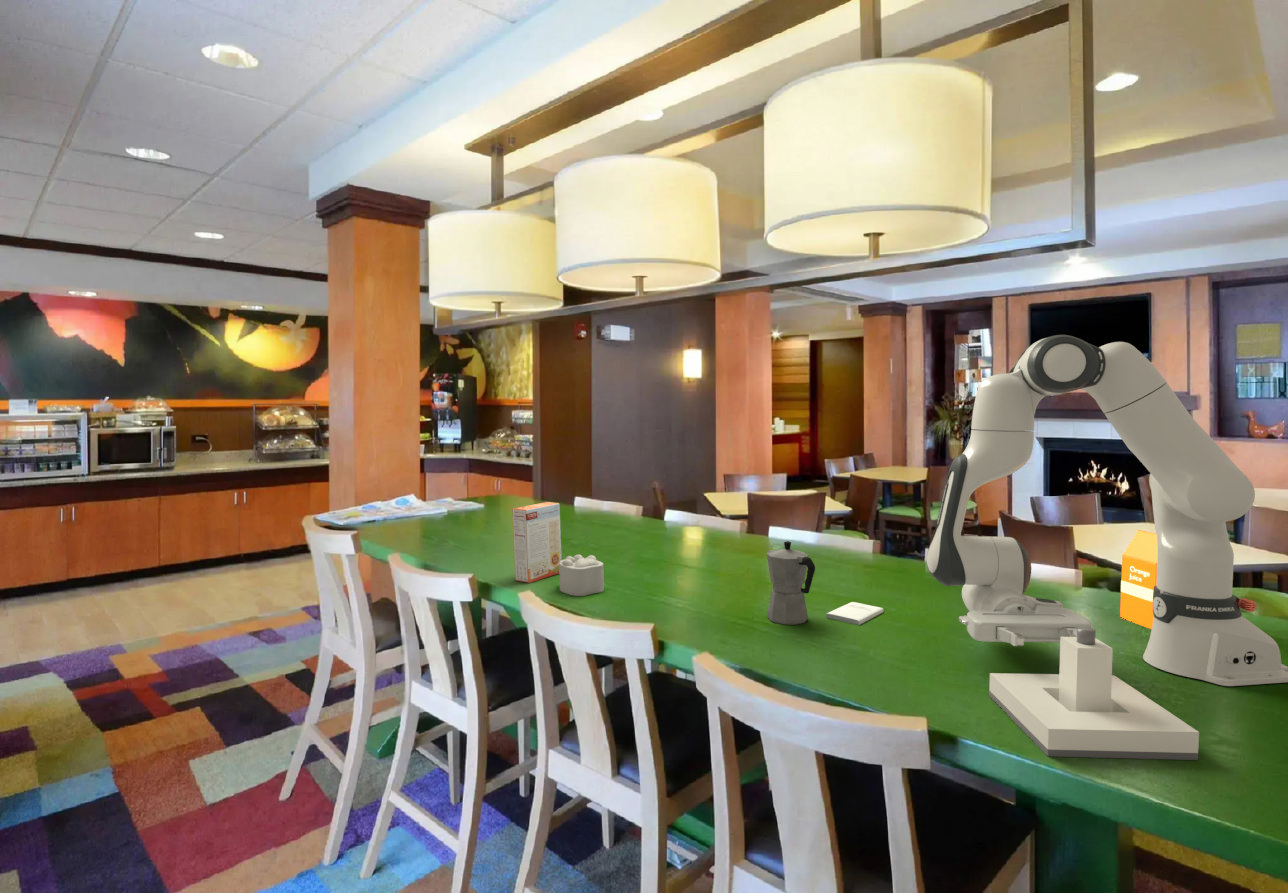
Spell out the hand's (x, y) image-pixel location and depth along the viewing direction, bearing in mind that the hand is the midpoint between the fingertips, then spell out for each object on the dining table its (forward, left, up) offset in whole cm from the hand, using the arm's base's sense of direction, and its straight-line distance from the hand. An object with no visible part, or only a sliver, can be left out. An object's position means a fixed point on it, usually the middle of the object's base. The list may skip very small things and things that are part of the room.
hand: (1048, 642), depth 119 cm
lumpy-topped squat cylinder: (+91, -64, -9) cm, 111 cm away
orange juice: (-41, -40, -9) cm, 58 cm away
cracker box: (+105, -76, -9) cm, 130 cm away
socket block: (0, +11, -9) cm, 14 cm away
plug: (0, +11, -8) cm, 14 cm away
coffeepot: (+38, -39, -9) cm, 55 cm away
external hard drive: (+23, -43, -10) cm, 50 cm away
